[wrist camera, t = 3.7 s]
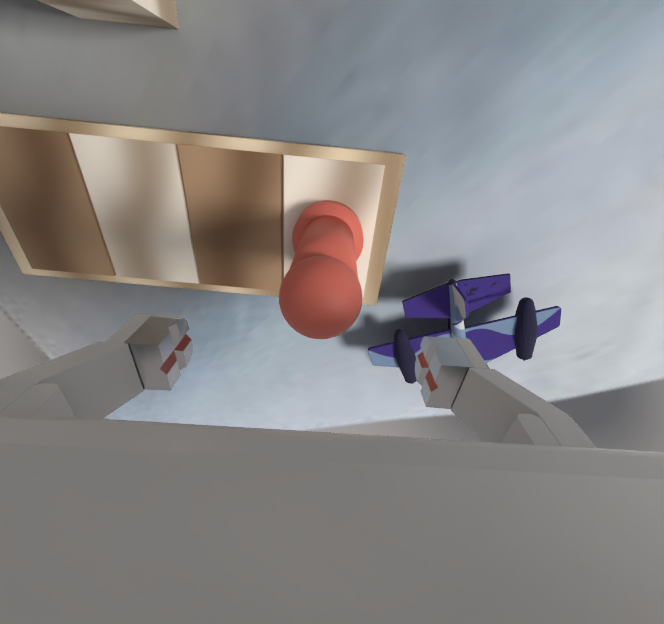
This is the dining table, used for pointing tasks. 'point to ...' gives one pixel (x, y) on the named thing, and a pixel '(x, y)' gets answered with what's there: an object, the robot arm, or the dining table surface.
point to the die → (122, 11)
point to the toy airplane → (486, 337)
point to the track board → (180, 203)
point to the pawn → (323, 271)
